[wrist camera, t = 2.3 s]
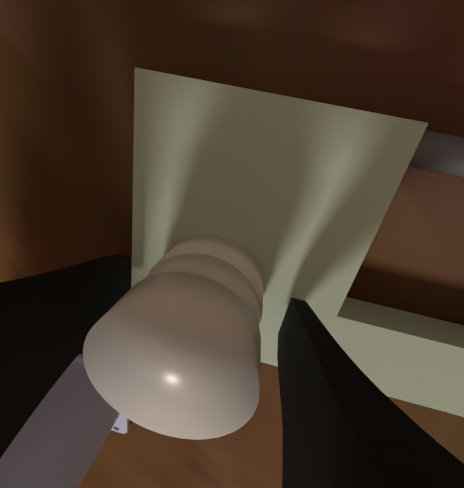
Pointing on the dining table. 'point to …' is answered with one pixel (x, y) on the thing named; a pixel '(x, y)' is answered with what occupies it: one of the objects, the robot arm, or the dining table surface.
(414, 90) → the dining table surface
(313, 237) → the pale green panel
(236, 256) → the white round knob
